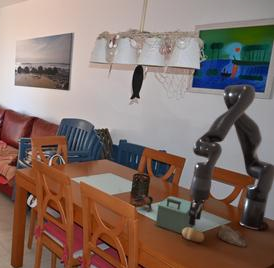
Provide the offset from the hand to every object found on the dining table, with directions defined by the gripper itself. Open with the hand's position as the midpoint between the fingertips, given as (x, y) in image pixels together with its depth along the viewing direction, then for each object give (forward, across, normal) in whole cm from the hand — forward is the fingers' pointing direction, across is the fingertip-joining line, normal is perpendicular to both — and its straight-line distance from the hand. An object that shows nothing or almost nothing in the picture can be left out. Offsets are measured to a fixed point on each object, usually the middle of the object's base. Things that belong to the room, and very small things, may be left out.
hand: (194, 221), depth 146 cm
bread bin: (+9, +11, +11) cm, 18 cm away
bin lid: (-1, +11, +11) cm, 15 cm away
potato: (+9, 0, 0) cm, 9 cm away
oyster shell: (+9, +15, -13) cm, 22 cm away
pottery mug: (+9, +19, +30) cm, 36 cm away
